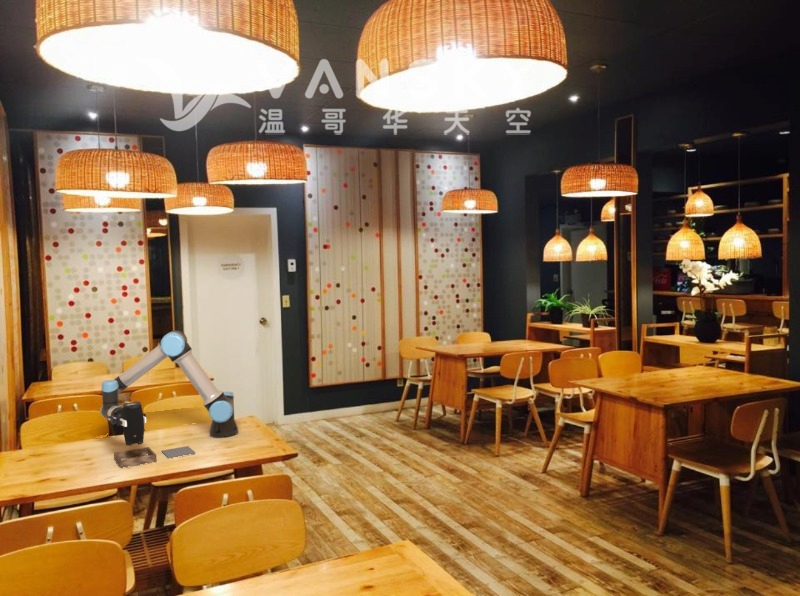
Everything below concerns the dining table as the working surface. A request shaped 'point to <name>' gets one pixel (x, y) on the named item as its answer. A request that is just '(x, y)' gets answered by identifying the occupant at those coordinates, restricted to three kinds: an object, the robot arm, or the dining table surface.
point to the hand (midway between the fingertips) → (135, 421)
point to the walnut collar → (134, 453)
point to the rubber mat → (178, 452)
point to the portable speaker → (133, 423)
